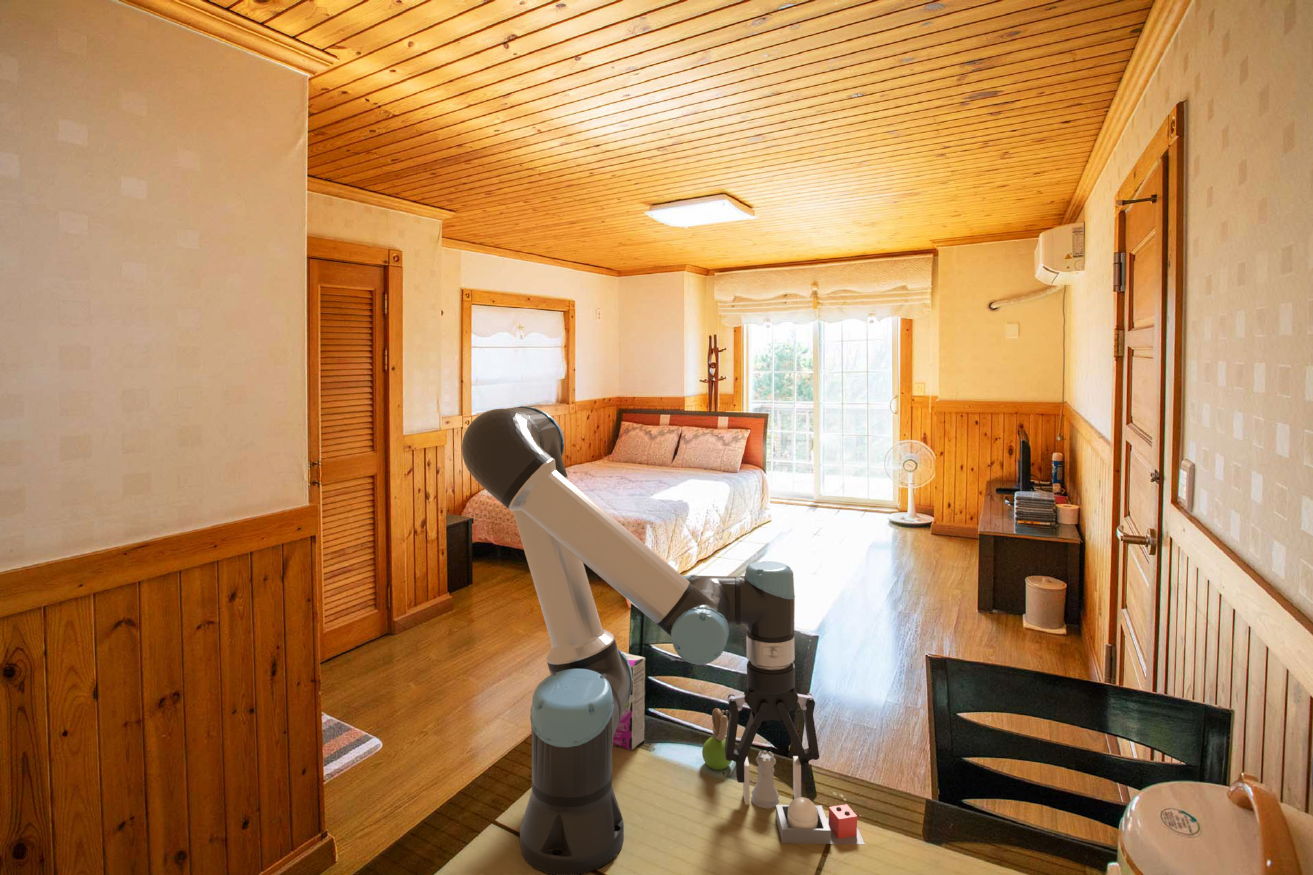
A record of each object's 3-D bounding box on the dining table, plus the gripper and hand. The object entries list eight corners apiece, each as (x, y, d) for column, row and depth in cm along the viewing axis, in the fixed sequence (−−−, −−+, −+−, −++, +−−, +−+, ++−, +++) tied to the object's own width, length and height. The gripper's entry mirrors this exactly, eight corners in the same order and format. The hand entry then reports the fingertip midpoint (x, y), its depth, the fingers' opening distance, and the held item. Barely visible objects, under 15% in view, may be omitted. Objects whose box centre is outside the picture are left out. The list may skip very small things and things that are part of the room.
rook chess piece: (778, 812, 108) (779, 763, 107) (750, 809, 109) (751, 760, 108) (779, 796, 112) (780, 748, 112) (751, 792, 113) (752, 745, 112)
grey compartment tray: (781, 845, 100) (782, 820, 100) (775, 820, 106) (776, 796, 106) (864, 847, 100) (865, 822, 99) (853, 821, 106) (854, 797, 105)
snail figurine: (709, 781, 116) (710, 712, 115) (698, 761, 122) (699, 695, 122) (739, 777, 117) (740, 709, 117) (727, 757, 124) (728, 693, 123)
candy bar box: (581, 736, 131) (582, 652, 130) (597, 725, 135) (597, 644, 134) (631, 752, 125) (632, 665, 124) (645, 740, 129) (646, 655, 128)
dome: (790, 836, 101) (790, 808, 100) (785, 818, 105) (785, 790, 105) (820, 837, 100) (821, 808, 100) (813, 818, 105) (814, 791, 105)
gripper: (707, 671, 105) (709, 814, 107) (841, 669, 105) (841, 813, 106) (705, 652, 113) (707, 786, 114) (829, 651, 112) (829, 785, 114)
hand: (771, 799), depth 110 cm, fingers open, 7 cm apart
